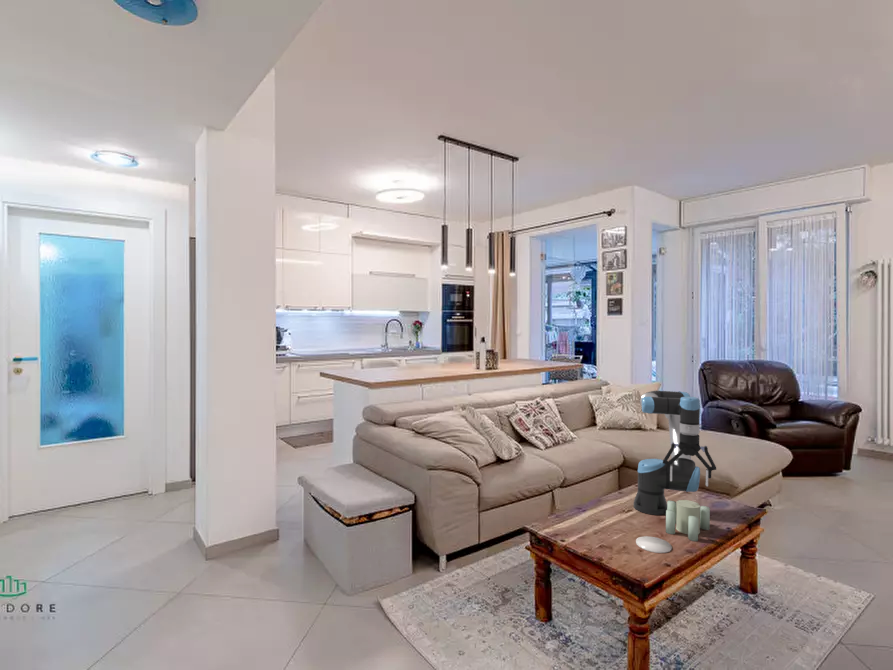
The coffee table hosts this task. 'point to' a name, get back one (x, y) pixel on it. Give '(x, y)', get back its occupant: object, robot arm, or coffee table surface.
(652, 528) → the coffee table surface
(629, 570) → the coffee table surface
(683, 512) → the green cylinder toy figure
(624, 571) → the coffee table surface
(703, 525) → the posts
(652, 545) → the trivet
